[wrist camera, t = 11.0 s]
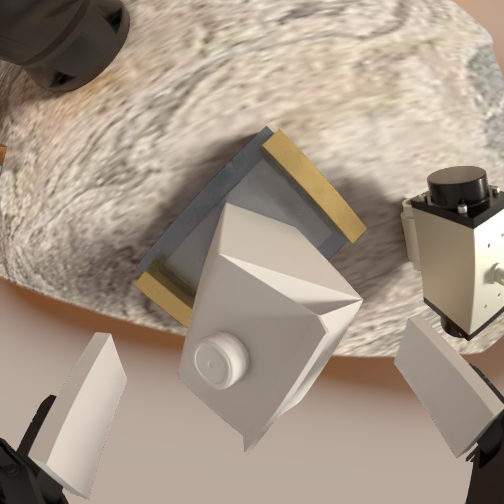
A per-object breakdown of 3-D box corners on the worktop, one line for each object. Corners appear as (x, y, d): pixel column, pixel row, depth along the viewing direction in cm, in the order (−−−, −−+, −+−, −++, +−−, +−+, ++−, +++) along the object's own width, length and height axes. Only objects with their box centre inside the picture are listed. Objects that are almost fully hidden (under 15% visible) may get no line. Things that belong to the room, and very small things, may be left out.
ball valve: (440, 270, 35) (517, 324, 18) (400, 293, 36) (474, 363, 19) (422, 157, 30) (527, 169, 13) (375, 175, 30) (484, 195, 13)
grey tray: (149, 251, 31) (126, 278, 24) (260, 132, 28) (270, 120, 20) (254, 338, 36) (260, 378, 28) (360, 241, 33) (392, 262, 25)
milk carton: (295, 226, 26) (407, 349, 8) (268, 290, 28) (315, 457, 10) (225, 201, 25) (207, 301, 7) (202, 269, 27) (164, 438, 9)
